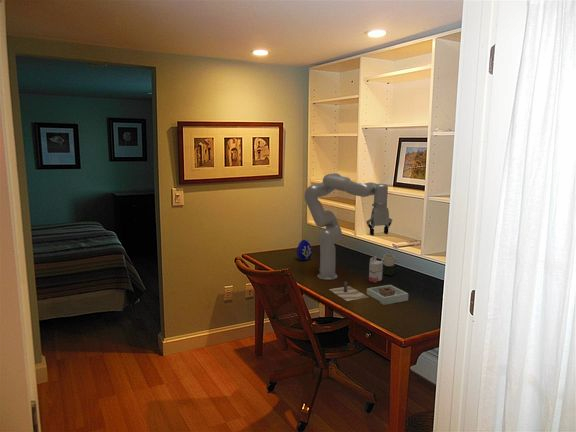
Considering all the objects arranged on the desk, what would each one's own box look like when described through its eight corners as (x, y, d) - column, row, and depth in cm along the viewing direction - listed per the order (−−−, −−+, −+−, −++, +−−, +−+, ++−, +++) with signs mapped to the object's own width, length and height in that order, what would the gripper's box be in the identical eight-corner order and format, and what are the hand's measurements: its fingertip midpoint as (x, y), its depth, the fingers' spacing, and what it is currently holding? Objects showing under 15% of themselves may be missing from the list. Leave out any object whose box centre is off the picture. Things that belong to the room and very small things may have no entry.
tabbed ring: (385, 298, 245) (386, 291, 245) (376, 293, 253) (376, 287, 252) (394, 297, 248) (395, 290, 247) (385, 292, 256) (385, 285, 255)
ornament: (300, 262, 319) (300, 241, 316) (294, 259, 327) (294, 239, 324) (313, 260, 324) (314, 240, 322) (307, 257, 332) (307, 237, 329)
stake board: (328, 291, 261) (328, 280, 260) (349, 287, 266) (349, 277, 265) (346, 302, 243) (347, 291, 242) (368, 298, 248) (369, 287, 247)
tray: (366, 295, 254) (366, 288, 253) (390, 291, 260) (390, 284, 259) (383, 305, 239) (384, 297, 239) (408, 300, 246) (408, 293, 245)
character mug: (392, 272, 296) (393, 253, 293) (398, 275, 289) (399, 256, 287) (378, 274, 292) (378, 254, 290) (383, 277, 286) (384, 257, 283)
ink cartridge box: (375, 283, 275) (376, 259, 272) (368, 281, 278) (369, 258, 275) (382, 279, 281) (383, 256, 279) (375, 278, 284) (376, 255, 282)
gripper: (371, 207, 252) (369, 237, 255) (396, 205, 259) (395, 234, 262) (363, 205, 259) (362, 234, 262) (388, 203, 266) (387, 232, 269)
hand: (378, 234), depth 262 cm, fingers open, 9 cm apart
